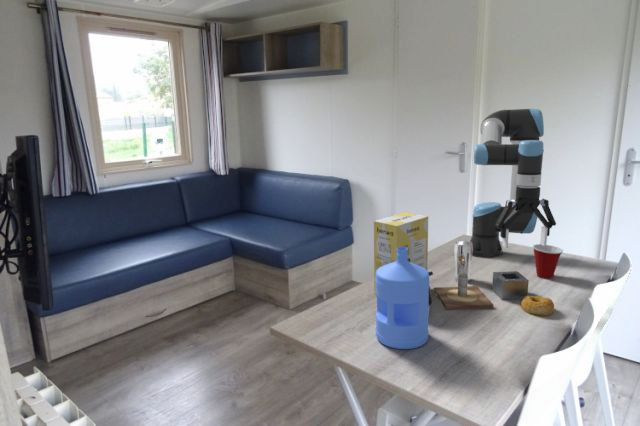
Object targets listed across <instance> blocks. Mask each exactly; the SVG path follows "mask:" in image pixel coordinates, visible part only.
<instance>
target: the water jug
mask: <svg viewBox="0 0 640 426" xmlns="http://www.w3.org/2000/svg"><path fill="white" fill-rule="evenodd" d="M407 251H408V248H406V247H398V248H397V261H396V262H393V263H390V264H387V265H384V266H381V267H380V268H378V269H377V271H376V277H375V285H376V294H375V295H376V314H375V336H376V339H377V340H378V341H379V342H380V343H381V344H383V345H384V346H387V347H389V348H392V349H398V350H411V349H416V348H419V347H422V346H423V345H425V344H426V342H427V341H428V339H429V313H430V307H429V286H430V276H429V273H428V272H429V271H428V269H427V270H426V269H425V268H423V267H421V266H418V265H415V264H413V263H410V262H408V260H407V259H408V254H407Z"/></svg>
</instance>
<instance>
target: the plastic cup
mask: <svg viewBox="0 0 640 426" xmlns="http://www.w3.org/2000/svg"><path fill="white" fill-rule="evenodd" d="M532 249H533V253H534V263H535V264H534V265H535V269H536V270H535V272H536V276H537V278H539V279H540V278H541V279H545V280H546V279H547V280H548V279H552V278H554V275H555V272H556V269H557V266H558V262H559V259H560V257H561V255H562V254H563V252H564V249H562V248H560V247H557V246H554V245H550V244H546V246H543V245H541V244H540V243H539V244H538V243H536V244H533V245H532Z"/></svg>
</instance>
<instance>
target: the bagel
mask: <svg viewBox="0 0 640 426" xmlns="http://www.w3.org/2000/svg"><path fill="white" fill-rule="evenodd" d="M520 306H521V307H520V308H521V309H522V310H523V311H524V312H525V313H528V314H532V315H537V316H544V317H545V316H549V315H551V314H553V312H554V309H555V303H554V302H553V300H552V299H551V298H550V297H543V296H540V295H537V296H535V295H533V296H532V295H530V296H529V295H528V296H526V297H524V298H523V299H522V300H521V304H520Z"/></svg>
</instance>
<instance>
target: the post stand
mask: <svg viewBox="0 0 640 426" xmlns="http://www.w3.org/2000/svg"><path fill="white" fill-rule="evenodd" d="M468 282H469V281H468V275H467V274H466V273H465V272H461V273H459V275H458V281H457V286H439V287H433V292H434V293H435V295H436V296H437V299H438V301H439V302H440V304H441V305H442V306H443V308H444V310H445V311H458V310H459V311H460V310H489V309H494V303H493V302H492V301H491V300H490V299H489V298H488V297H487V296H486V295H485V293H484V292H483V291H482V290H481V289H480V288H479V287H478V286H477V285H473V286H471V285H469V286H468Z"/></svg>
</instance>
